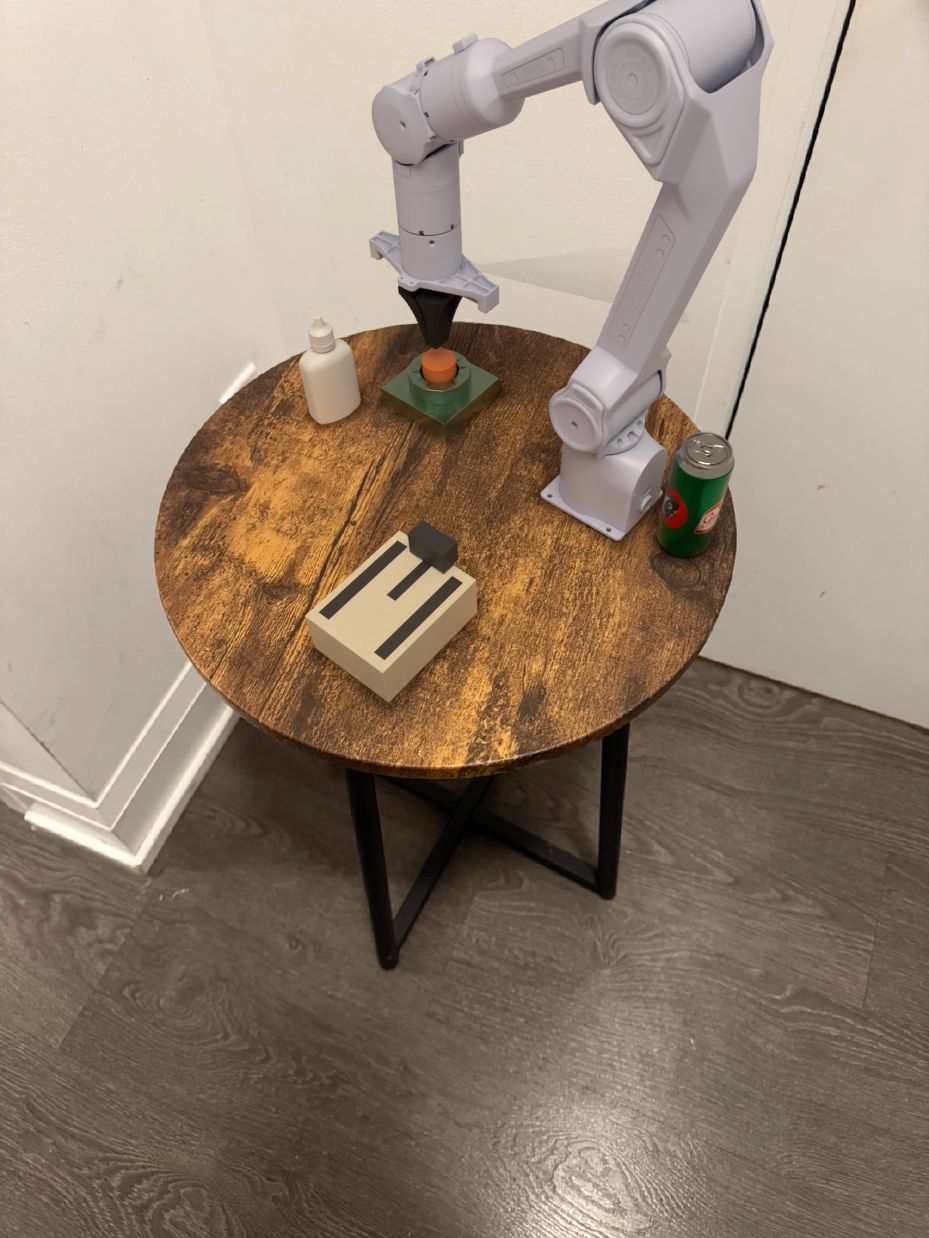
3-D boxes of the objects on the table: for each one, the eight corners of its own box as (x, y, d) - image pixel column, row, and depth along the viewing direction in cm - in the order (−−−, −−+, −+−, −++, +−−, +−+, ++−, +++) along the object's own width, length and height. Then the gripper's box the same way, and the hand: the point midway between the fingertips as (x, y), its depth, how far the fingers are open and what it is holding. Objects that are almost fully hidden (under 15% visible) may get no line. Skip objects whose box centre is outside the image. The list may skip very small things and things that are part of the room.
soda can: (697, 568, 83) (724, 479, 73) (647, 547, 85) (667, 458, 75) (717, 531, 86) (746, 440, 76) (667, 512, 87) (690, 420, 77)
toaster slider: (458, 559, 78) (457, 541, 76) (443, 574, 77) (442, 556, 75) (424, 537, 79) (422, 519, 77) (409, 551, 79) (407, 533, 77)
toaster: (481, 608, 81) (480, 575, 77) (388, 703, 76) (382, 672, 72) (407, 560, 85) (403, 526, 81) (314, 647, 79) (304, 615, 75)
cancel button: (463, 370, 94) (463, 357, 93) (441, 388, 93) (440, 375, 91) (437, 356, 96) (436, 343, 94) (415, 374, 94) (414, 361, 93)
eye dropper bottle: (308, 400, 98) (287, 307, 88) (359, 393, 98) (344, 299, 88) (311, 427, 95) (289, 335, 85) (363, 420, 96) (348, 327, 86)
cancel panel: (499, 393, 97) (499, 364, 94) (446, 440, 94) (444, 411, 90) (436, 360, 101) (434, 331, 97) (383, 403, 97) (379, 374, 94)
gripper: (340, 210, 81) (359, 334, 92) (463, 269, 75) (467, 393, 87) (392, 176, 84) (404, 300, 95) (514, 230, 78) (511, 355, 89)
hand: (437, 342), depth 91 cm, fingers closed
